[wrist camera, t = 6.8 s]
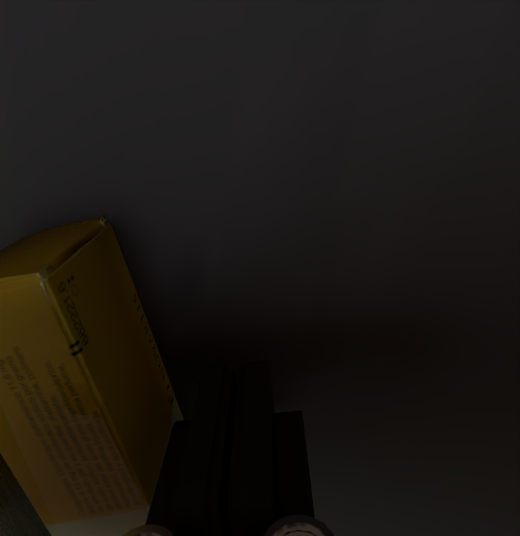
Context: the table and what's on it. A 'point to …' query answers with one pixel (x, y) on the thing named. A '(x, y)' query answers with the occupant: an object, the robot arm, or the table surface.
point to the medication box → (80, 382)
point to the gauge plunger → (17, 508)
